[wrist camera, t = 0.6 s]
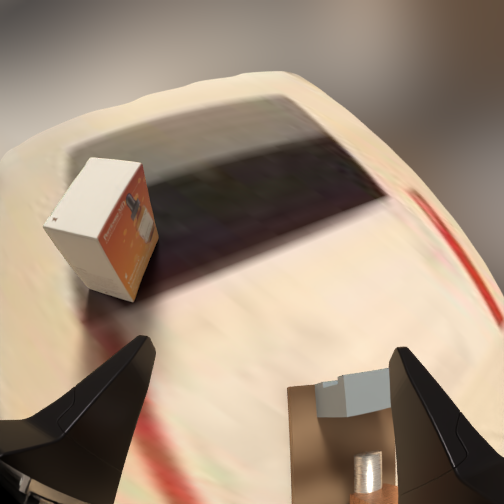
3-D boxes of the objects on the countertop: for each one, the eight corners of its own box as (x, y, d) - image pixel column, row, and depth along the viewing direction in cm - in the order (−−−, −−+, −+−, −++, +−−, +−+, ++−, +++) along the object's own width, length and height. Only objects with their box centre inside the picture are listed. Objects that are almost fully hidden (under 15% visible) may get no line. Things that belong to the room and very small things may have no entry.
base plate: (387, 526, 14) (392, 528, 13) (292, 552, 13) (295, 557, 12) (383, 375, 23) (388, 373, 23) (287, 387, 22) (289, 386, 21)
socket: (373, 407, 21) (412, 401, 16) (316, 417, 20) (347, 417, 15) (370, 377, 22) (407, 364, 17) (314, 384, 22) (343, 375, 17)
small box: (134, 304, 25) (96, 242, 16) (87, 289, 25) (39, 227, 16) (160, 236, 29) (144, 160, 20) (116, 227, 29) (90, 155, 20)
